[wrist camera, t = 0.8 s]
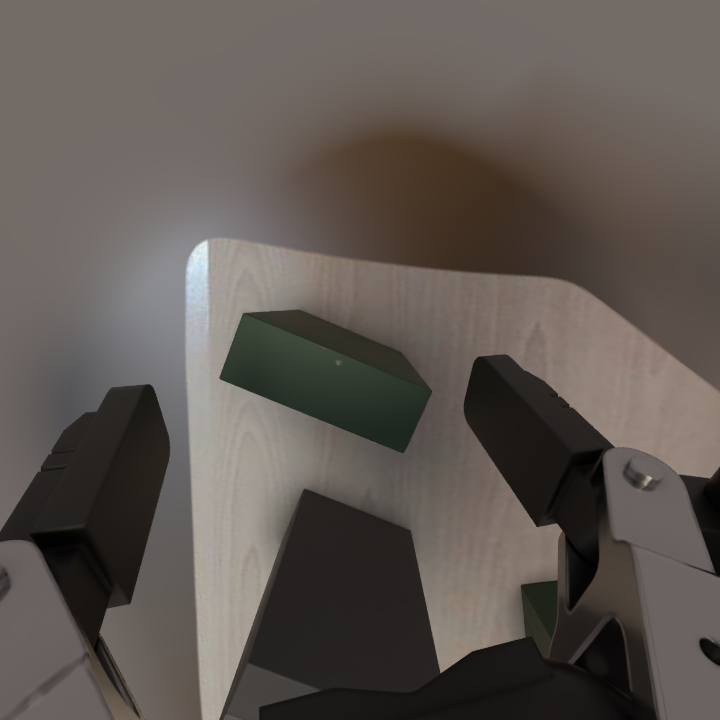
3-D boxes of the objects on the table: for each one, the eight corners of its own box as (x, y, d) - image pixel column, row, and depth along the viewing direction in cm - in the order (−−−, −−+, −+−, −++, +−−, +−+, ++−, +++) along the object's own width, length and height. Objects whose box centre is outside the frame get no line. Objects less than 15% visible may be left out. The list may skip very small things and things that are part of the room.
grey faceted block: (304, 488, 32) (246, 663, 16) (411, 530, 33) (455, 740, 17) (281, 543, 33) (204, 762, 17) (385, 584, 34) (405, 833, 18)
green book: (298, 309, 30) (243, 312, 16) (401, 352, 31) (433, 391, 17) (284, 346, 31) (218, 379, 17) (386, 388, 31) (404, 454, 17)
